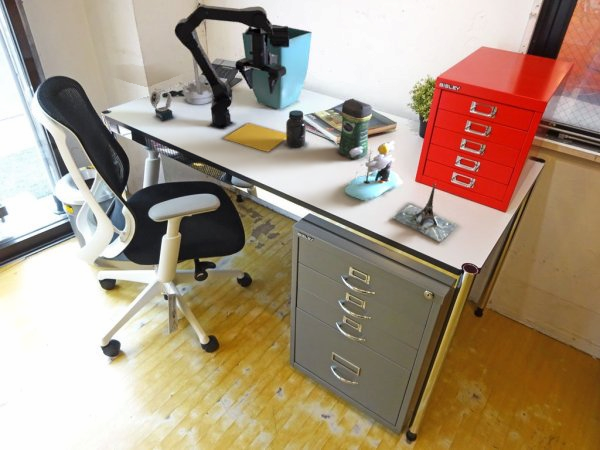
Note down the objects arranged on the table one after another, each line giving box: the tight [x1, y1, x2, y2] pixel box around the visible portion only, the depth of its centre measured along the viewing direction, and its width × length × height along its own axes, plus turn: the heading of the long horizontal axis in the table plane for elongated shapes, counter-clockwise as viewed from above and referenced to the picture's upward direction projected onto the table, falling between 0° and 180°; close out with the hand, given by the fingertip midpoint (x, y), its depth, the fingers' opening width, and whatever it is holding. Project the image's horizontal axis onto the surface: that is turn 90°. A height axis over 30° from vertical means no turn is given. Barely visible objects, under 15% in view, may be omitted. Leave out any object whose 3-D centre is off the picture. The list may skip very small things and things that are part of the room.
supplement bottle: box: [285, 109, 307, 149], centre depth 153 cm, size 7×7×12 cm
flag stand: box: [181, 54, 213, 105], centre depth 180 cm, size 13×13×30 cm
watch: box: [149, 88, 174, 122], centre depth 170 cm, size 6×8×11 cm
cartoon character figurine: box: [344, 140, 403, 201], centre depth 130 cm, size 20×11×15 cm, turn 126°
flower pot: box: [241, 24, 313, 110], centre depth 180 cm, size 20×20×28 cm
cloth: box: [224, 122, 286, 153], centre depth 161 cm, size 19×15×1 cm
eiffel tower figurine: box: [392, 183, 458, 243], centre depth 117 cm, size 15×10×13 cm
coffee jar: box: [338, 98, 373, 160], centre depth 147 cm, size 10×8×19 cm
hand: (261, 91), depth 163 cm, fingers open, 9 cm apart
